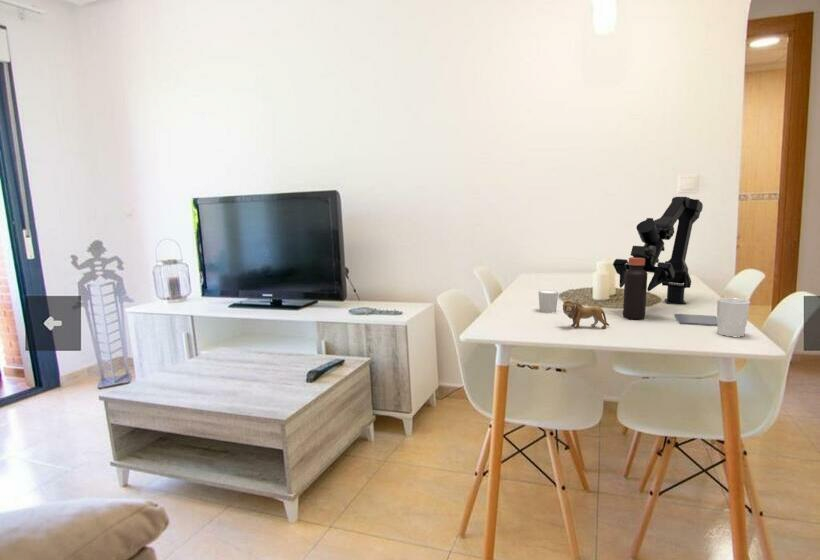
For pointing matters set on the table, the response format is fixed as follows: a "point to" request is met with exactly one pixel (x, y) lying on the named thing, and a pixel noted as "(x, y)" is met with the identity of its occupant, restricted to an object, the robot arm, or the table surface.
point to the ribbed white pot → (548, 300)
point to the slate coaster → (696, 319)
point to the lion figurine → (583, 313)
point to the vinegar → (635, 289)
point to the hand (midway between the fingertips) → (634, 288)
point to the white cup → (732, 316)
